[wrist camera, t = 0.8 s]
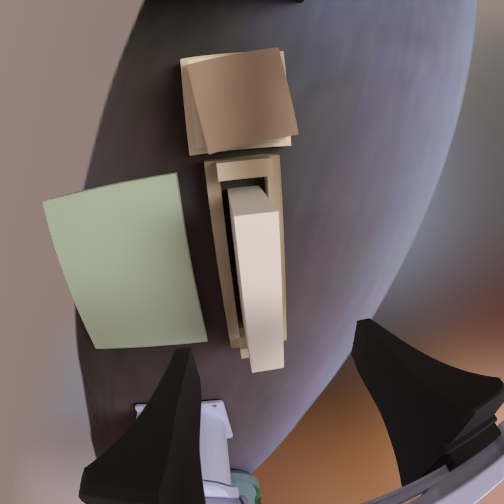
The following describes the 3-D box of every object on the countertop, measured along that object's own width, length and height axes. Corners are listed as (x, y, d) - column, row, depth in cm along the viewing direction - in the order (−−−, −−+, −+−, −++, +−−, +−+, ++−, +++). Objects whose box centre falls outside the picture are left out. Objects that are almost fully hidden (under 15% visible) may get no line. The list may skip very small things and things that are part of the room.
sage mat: (97, 344, 22) (95, 348, 21) (46, 199, 16) (42, 202, 16) (207, 336, 23) (207, 341, 22) (176, 172, 17) (175, 173, 17)
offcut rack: (220, 339, 23) (222, 365, 20) (181, 62, 14) (175, 50, 12) (292, 329, 23) (302, 353, 21) (279, 55, 15) (292, 42, 12)
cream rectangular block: (242, 316, 22) (252, 372, 17) (227, 188, 18) (233, 216, 13) (267, 312, 22) (283, 367, 17) (258, 185, 18) (278, 211, 13)
